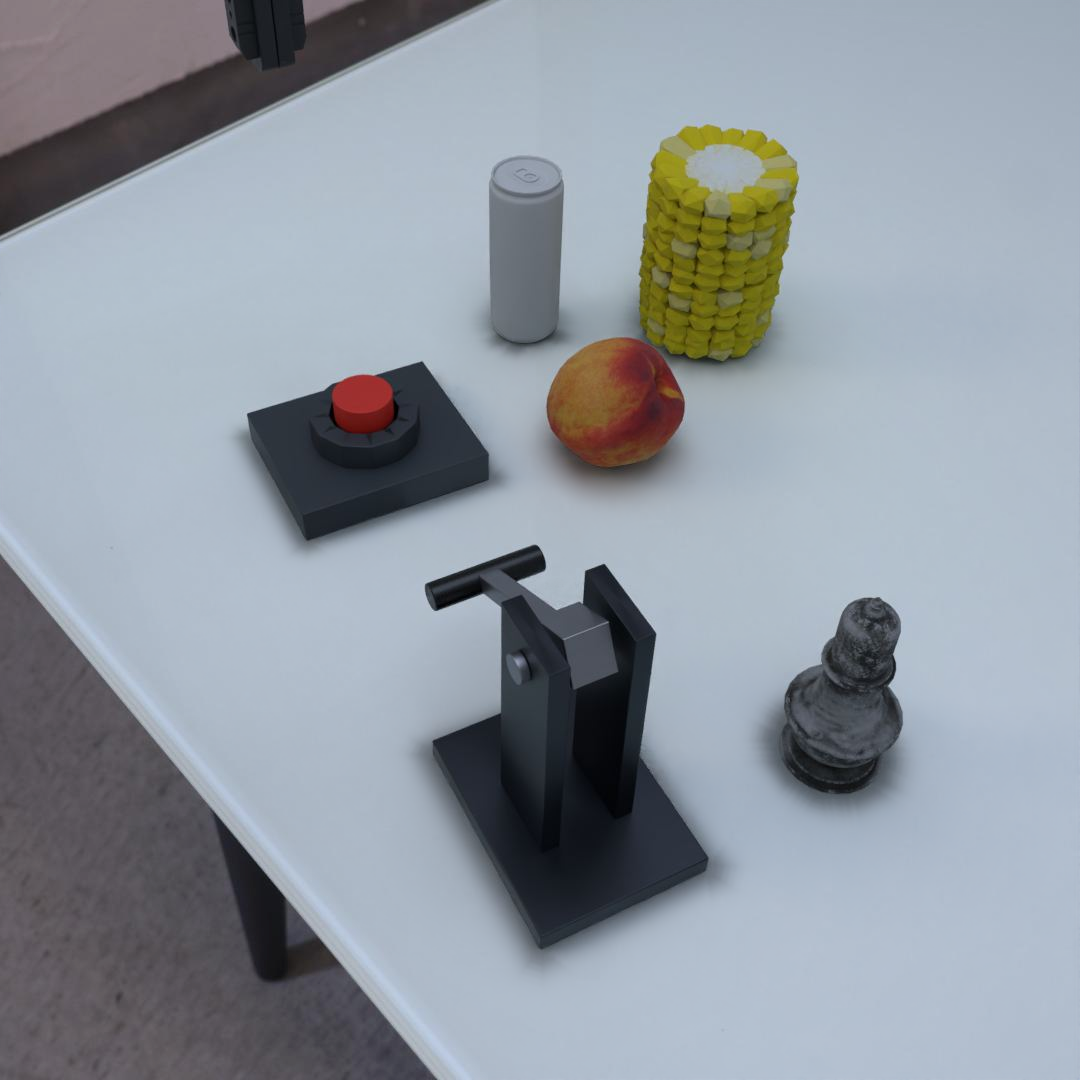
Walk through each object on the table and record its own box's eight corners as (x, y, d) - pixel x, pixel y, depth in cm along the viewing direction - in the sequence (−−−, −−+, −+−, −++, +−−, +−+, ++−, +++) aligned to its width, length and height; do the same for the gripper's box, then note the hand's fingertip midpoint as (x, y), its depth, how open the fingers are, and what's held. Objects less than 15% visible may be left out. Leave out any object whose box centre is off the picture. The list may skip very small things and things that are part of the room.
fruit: (634, 512, 80) (644, 412, 74) (522, 461, 82) (524, 361, 77) (694, 440, 84) (709, 341, 78) (587, 394, 87) (593, 295, 81)
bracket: (432, 753, 67) (420, 557, 56) (586, 691, 70) (602, 493, 59) (540, 950, 60) (549, 767, 49) (706, 870, 63) (749, 682, 52)
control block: (306, 541, 77) (298, 492, 74) (251, 439, 83) (242, 390, 80) (489, 479, 81) (489, 431, 78) (424, 386, 87) (421, 338, 84)
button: (347, 441, 78) (345, 419, 77) (325, 406, 80) (323, 384, 79) (403, 424, 79) (401, 402, 78) (380, 389, 81) (378, 367, 80)
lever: (430, 615, 64) (419, 571, 63) (538, 575, 66) (529, 531, 65) (532, 706, 54) (521, 655, 53) (657, 656, 56) (648, 606, 55)
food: (762, 312, 96) (747, 403, 90) (611, 260, 96) (585, 349, 89) (848, 139, 85) (838, 230, 78) (677, 79, 84) (652, 166, 78)
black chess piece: (764, 781, 66) (803, 629, 58) (784, 692, 70) (824, 538, 62) (880, 812, 65) (939, 662, 57) (894, 720, 69) (950, 567, 61)
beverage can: (521, 356, 90) (523, 202, 81) (475, 323, 92) (473, 171, 83) (572, 328, 92) (580, 176, 83) (526, 296, 94) (529, 146, 86)
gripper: (353, -483, 47) (382, -2, 59) (-29, -462, 42) (89, 54, 55) (440, -443, 42) (452, 69, 55) (22, -415, 38) (138, 136, 50)
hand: (270, 61), depth 55 cm, fingers closed
